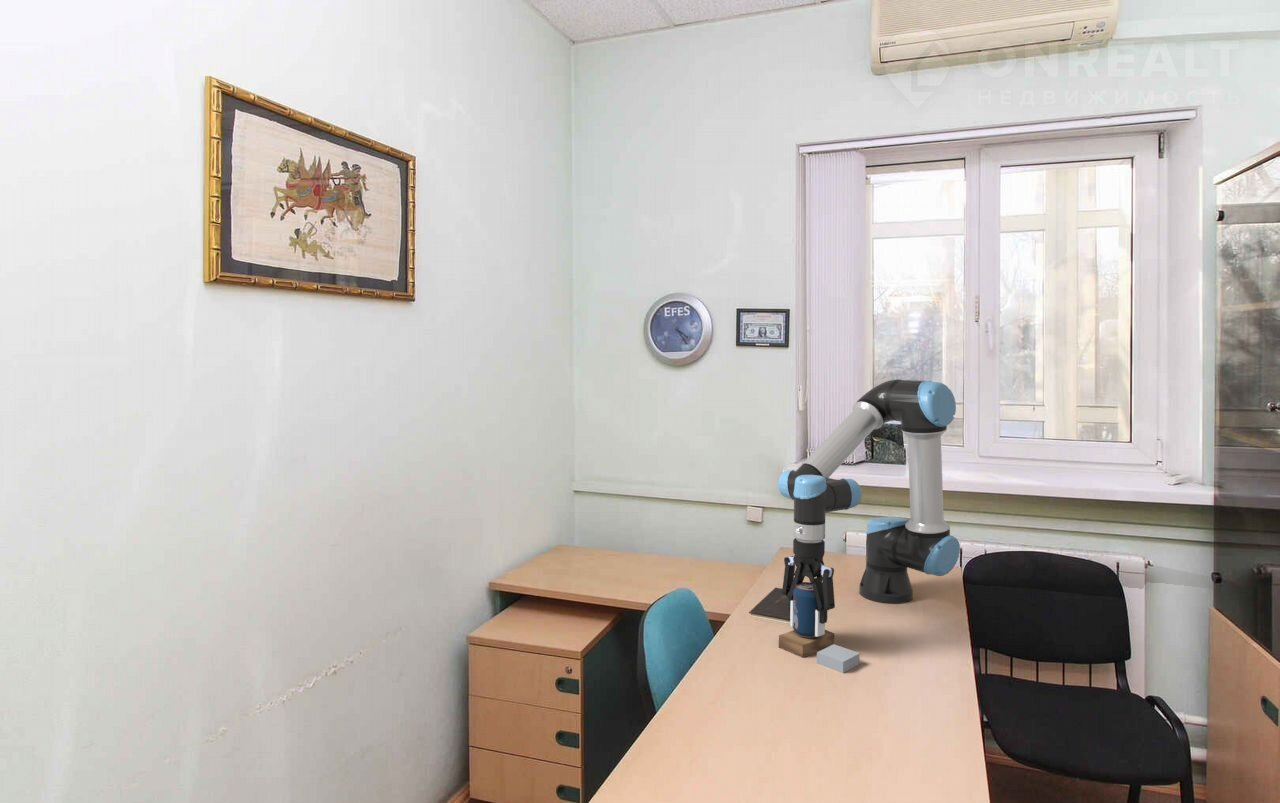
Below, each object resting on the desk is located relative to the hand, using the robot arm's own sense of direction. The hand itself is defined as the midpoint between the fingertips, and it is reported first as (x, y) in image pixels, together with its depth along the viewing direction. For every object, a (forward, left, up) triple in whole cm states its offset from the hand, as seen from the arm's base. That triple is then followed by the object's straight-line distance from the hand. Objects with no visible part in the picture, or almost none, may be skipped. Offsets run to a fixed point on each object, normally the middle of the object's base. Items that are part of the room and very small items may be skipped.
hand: (807, 629), depth 184 cm
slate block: (+2, +11, -4) cm, 12 cm away
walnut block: (0, 0, -4) cm, 4 cm away
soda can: (0, 0, -1) cm, 1 cm away
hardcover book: (-16, -19, -5) cm, 25 cm away
